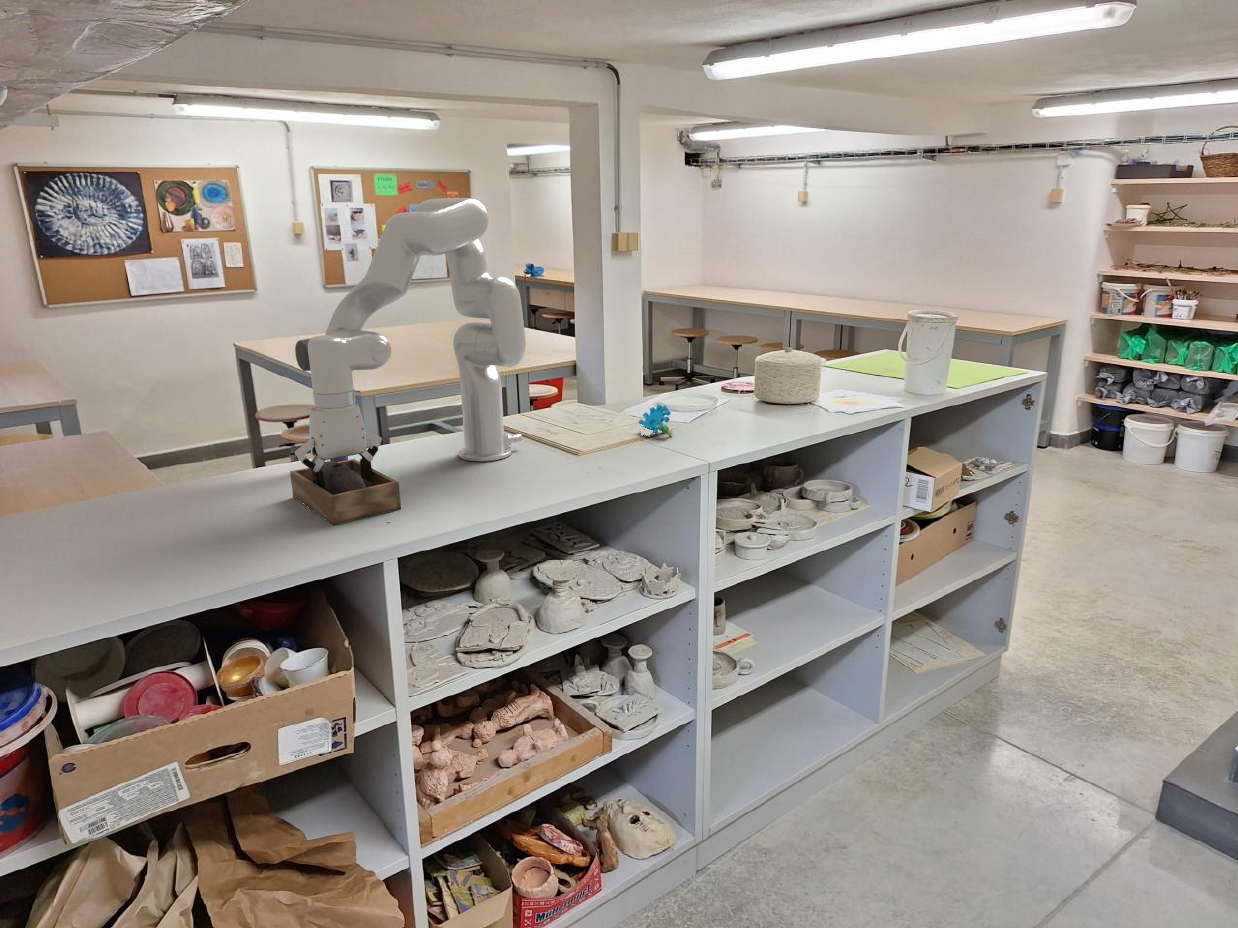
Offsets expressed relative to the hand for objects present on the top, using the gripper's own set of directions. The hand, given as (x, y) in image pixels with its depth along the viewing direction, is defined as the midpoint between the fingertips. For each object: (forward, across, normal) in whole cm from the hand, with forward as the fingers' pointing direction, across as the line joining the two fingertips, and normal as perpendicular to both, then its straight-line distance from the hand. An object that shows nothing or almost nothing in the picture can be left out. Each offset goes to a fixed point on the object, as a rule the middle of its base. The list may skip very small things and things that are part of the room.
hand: (343, 484), depth 167 cm
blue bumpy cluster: (+4, -82, +1) cm, 83 cm away
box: (+4, 0, 0) cm, 4 cm away
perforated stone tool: (+4, 0, 0) cm, 4 cm away
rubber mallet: (+4, -10, -27) cm, 29 cm away
